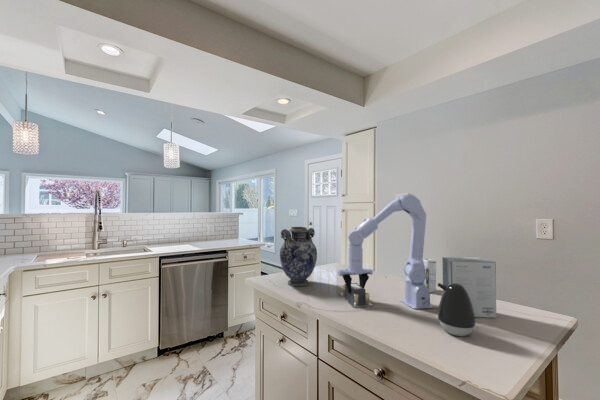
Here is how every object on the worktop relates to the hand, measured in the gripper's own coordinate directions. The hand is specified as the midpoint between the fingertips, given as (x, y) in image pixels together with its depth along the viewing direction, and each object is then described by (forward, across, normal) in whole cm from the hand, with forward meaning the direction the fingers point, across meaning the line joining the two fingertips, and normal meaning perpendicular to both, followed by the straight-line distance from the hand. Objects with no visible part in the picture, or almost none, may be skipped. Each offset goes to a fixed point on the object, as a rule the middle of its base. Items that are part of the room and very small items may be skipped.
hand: (355, 292), depth 112 cm
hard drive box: (+3, -36, +20) cm, 41 cm away
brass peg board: (+3, 0, 0) cm, 3 cm away
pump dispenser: (+3, -20, +32) cm, 38 cm away
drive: (+3, 0, 0) cm, 3 cm away
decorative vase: (+3, +19, -27) cm, 33 cm away
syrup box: (+3, -38, -6) cm, 39 cm away
